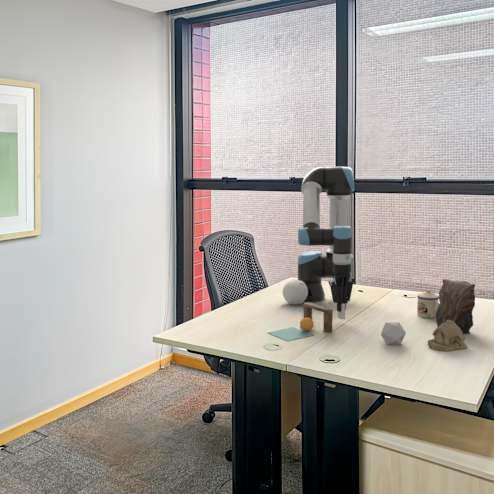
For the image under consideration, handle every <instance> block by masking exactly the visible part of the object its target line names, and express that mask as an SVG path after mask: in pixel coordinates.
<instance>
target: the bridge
mask: <svg viewBox="0 0 494 494" xmlns="http://www.w3.org/2000/svg"><path fill="white" fill-rule="evenodd" d="M302 303H303V315H302V316H303V318H306V317H307V318H310V319H312V320H313V310H315V311H318V312H320V313H323V324H322V325H323V326H322V327H323V329H322V331H323V333H326V334H328V333H332V332H333V316H334V314H333V311H334V310H333V308H329V307H326V306H323V305H320V304H317V303H314V302H302ZM303 318H302V319H303Z"/></svg>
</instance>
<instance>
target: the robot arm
mask: <svg viewBox="0 0 494 494" xmlns="http://www.w3.org/2000/svg"><path fill="white" fill-rule="evenodd" d="M353 173H354V172H353V169H352V168H351V167H349V166H318V167H315V168H313V169H311V170H310V171H309V172H308V173H307V174H306V175H305V176H304V178H303V179H302V182H301V185H300V186H301V194H302V195H303V198H302V200H303V201H302V227H300V228H298V229H297V230H298V231H297V242H298V245H300V246H308V247H309V246H324V247H325V246H328V248H327V249H326V251H325V252H326V253H325V254H323V252H322V251H320V250H311V251H306V252H301V253H300V254H299V255H298V256H297V257H298V258H297V264H296V265H297V280H300V281H303V282H304V283H305V284H306V286H307V288H308V295H307V298H306V300H305V301H304V303H307V302H310V303H314V302H321V301H322V302H323V301H324V300H325V298H326V297H325V296H326V294H325V292H324V291H325V290H324V287H323V284H322V279H331V280H329V281H328V284H329V286H330V292H331V297H332V302H333V303H335V304H336V311H337V318H338V319H340V320H345V319H346V309H347V305H348V304H349V302H350V300H351V296H352V290H353V286H354V283H355V279H356V278H354V277H352V276H351V275H352V270H353V265H354V264H353V263H354V254H352V239H353V237H352V236H353V232H352V231H353V229H352V227H351V226H350V225H348V224H349V223H348V220H349V219H348V218H349V217H348V215H349V211H348V210H349V209H348V208H349V198H350V197H351V196H352V193H354V191H355V189H356V188H355V179H354V174H353ZM322 192H326V196H327V197H328V199H329V227H321V211H320V210H321V208H320V207H321V205H320V203H321V202H320V200H321V198H320V197H321V193H322Z"/></svg>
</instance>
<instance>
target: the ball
mask: <svg viewBox="0 0 494 494" xmlns="http://www.w3.org/2000/svg"><path fill="white" fill-rule="evenodd" d="M314 326H315V323H314V320H313V318H312V319H310V318H307V317H306V318H301V320H300V322H299V327H300V330H302V331H305V332H310V331H311V330H313V328H314Z"/></svg>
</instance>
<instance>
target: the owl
mask: <svg viewBox="0 0 494 494" xmlns="http://www.w3.org/2000/svg"><path fill="white" fill-rule="evenodd" d="M475 286H476V284H475V283H470V282H468V281H466V280H461V281H459V280H451V279H447V278H442V285H441V288H440V289H439V293H438V296H439V300H438V303H439V306H438V308H437V311H436V317H435V320H436V326H437V327H439V326H440V325H441V324H442V323H445V322H446V321H447V320H451V321H454V322H455V324H456V325H457V326H458V327H459V328H460V329H461V331H462V332H463V335H468V334H471V332H470V330H471V328H472V327H473V326H474V321H473V319H474V318H473V317H474V315H473V310H474V308H475V306H476V294H475ZM437 327H436V328H437Z"/></svg>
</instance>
